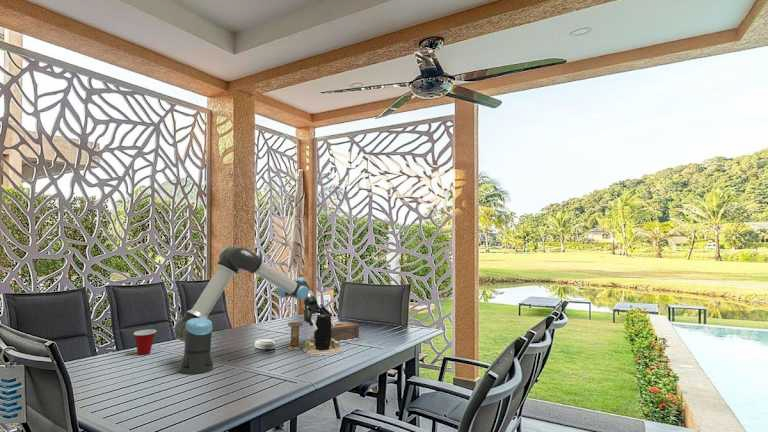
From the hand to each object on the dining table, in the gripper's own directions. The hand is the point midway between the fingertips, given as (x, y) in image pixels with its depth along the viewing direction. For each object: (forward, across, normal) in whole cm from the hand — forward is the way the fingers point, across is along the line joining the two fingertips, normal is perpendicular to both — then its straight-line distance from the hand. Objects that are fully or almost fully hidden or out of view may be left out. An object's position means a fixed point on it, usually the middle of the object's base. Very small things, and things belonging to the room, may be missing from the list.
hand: (324, 328), depth 240 cm
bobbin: (-4, +6, -23) cm, 24 cm away
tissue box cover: (-3, -28, -22) cm, 36 cm away
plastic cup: (-35, +72, -55) cm, 98 cm away
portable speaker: (+8, 0, -9) cm, 12 cm away
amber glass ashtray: (+9, 0, -10) cm, 13 cm away
